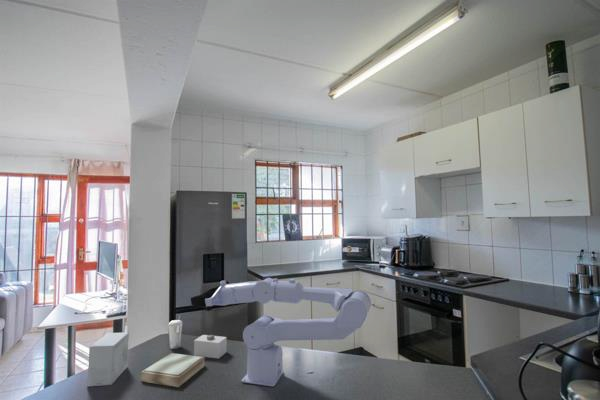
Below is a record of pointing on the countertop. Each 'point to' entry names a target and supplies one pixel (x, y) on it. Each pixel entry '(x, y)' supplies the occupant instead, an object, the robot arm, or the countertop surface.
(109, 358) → the skincare box
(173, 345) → the milkshake
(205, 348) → the block
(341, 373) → the countertop surface
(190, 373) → the stand
